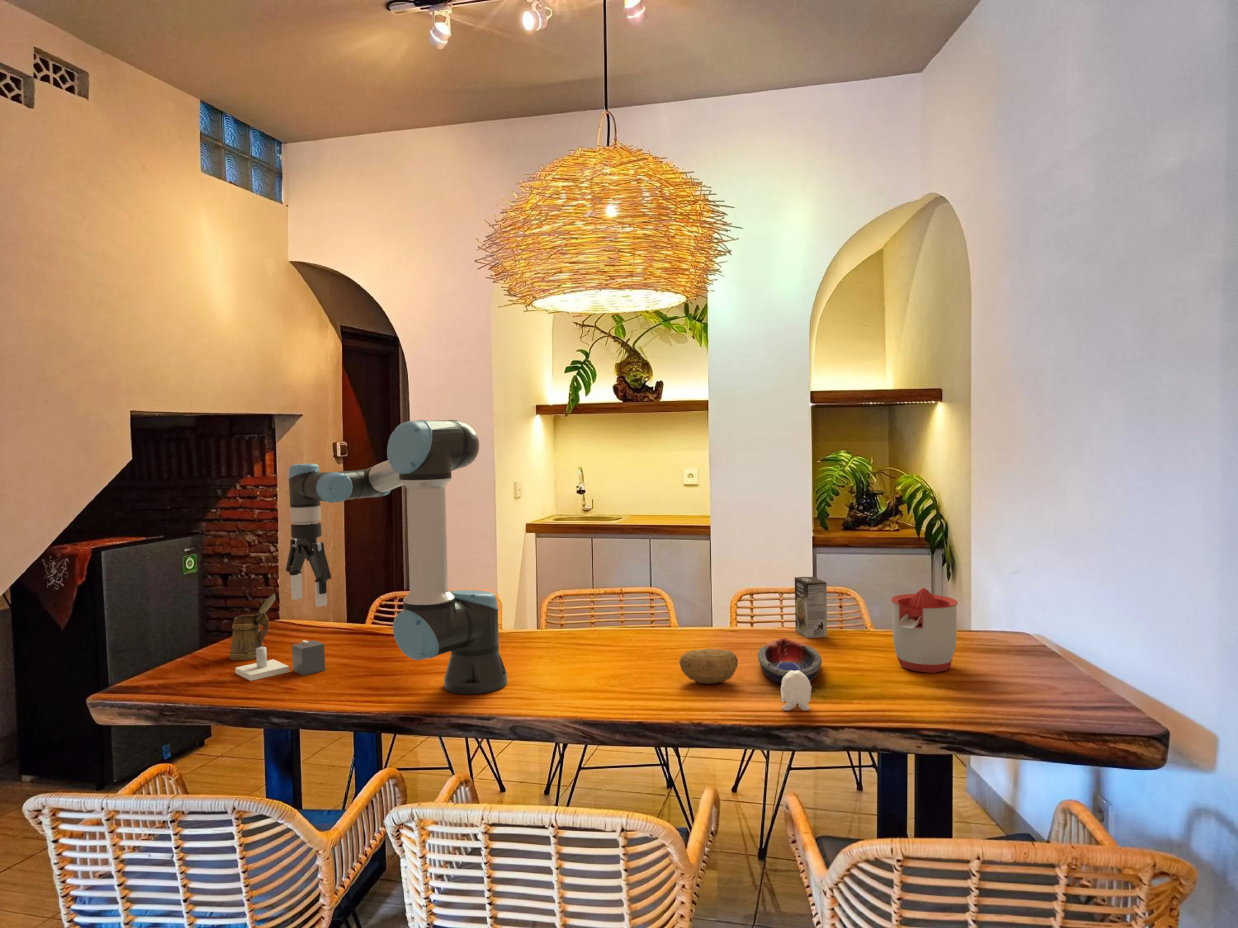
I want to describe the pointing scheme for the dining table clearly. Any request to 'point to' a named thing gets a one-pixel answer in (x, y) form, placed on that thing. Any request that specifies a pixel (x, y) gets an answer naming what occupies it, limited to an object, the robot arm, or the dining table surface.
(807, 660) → the dish
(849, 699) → the dining table surface
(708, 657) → the potato
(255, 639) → the wooden mug
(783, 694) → the penguin figurine
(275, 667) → the white peg base
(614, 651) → the dining table surface
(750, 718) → the dining table surface
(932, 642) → the citrus juicer
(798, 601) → the coffee box
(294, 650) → the grey rectangular block
